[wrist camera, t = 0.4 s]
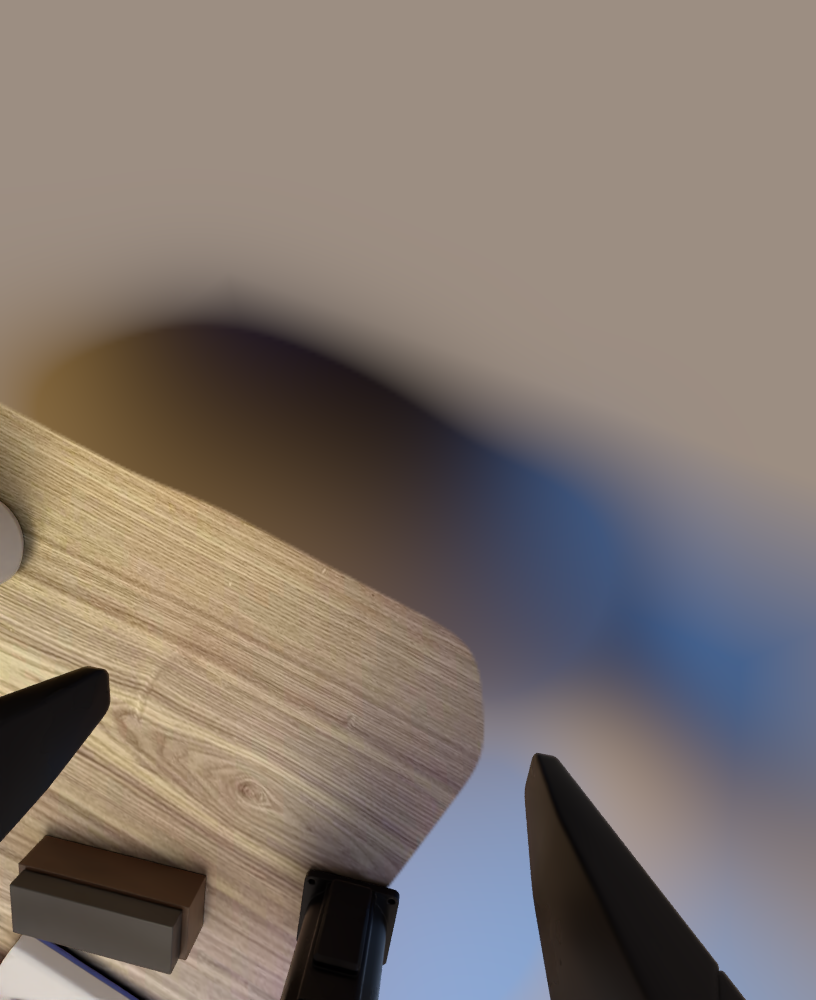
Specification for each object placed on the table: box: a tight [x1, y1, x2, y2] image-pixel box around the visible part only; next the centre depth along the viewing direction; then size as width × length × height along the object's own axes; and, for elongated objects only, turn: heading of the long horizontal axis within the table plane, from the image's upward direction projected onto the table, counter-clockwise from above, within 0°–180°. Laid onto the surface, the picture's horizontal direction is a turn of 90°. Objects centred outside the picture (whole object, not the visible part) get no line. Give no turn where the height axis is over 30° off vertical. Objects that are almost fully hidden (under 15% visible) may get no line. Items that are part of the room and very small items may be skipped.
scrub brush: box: [10, 835, 206, 974], centre depth 29 cm, size 5×12×3 cm, turn 81°
